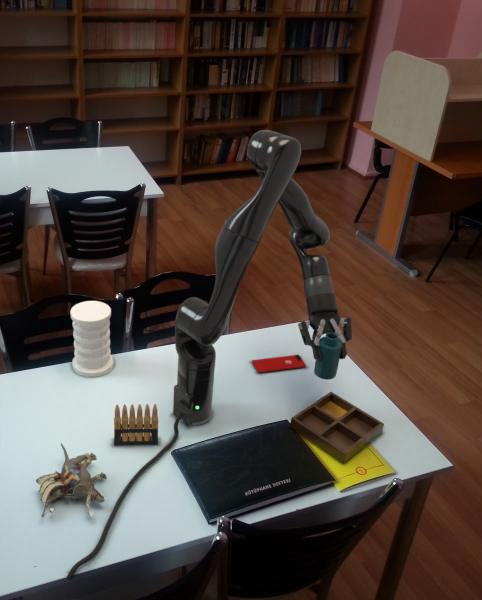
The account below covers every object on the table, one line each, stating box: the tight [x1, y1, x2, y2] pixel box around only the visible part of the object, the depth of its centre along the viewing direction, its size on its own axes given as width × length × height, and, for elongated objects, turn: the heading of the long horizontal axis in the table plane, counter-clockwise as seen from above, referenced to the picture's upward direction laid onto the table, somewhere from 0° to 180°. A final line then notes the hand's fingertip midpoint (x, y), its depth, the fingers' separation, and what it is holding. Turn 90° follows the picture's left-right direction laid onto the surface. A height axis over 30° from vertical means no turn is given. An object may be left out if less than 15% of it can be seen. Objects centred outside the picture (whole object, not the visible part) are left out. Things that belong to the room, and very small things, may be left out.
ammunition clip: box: [113, 403, 159, 447], centre depth 146 cm, size 11×2×12 cm, turn 95°
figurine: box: [35, 442, 108, 520], centre depth 133 cm, size 20×6×17 cm
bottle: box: [313, 333, 342, 381], centre depth 156 cm, size 6×6×12 cm
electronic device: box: [251, 354, 307, 374], centre depth 180 cm, size 6×1×15 cm
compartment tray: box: [289, 391, 385, 464], centre depth 157 cm, size 17×17×3 cm
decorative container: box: [69, 300, 115, 378], centre depth 171 cm, size 12×12×18 cm
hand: (331, 359), depth 155 cm, fingers closed on bottle, 6 cm apart
